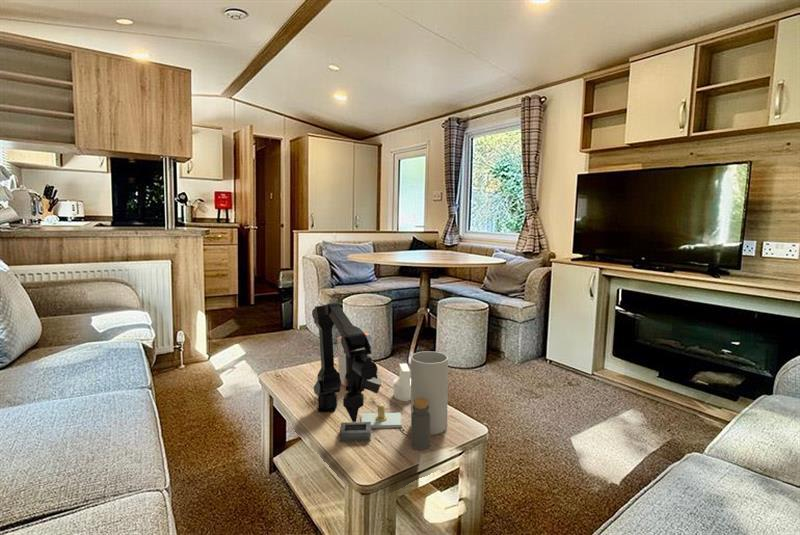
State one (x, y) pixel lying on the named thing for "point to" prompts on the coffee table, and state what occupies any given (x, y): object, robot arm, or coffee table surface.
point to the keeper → (382, 418)
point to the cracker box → (343, 359)
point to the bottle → (420, 425)
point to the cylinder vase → (431, 386)
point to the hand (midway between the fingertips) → (355, 415)
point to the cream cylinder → (403, 383)
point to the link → (355, 431)
